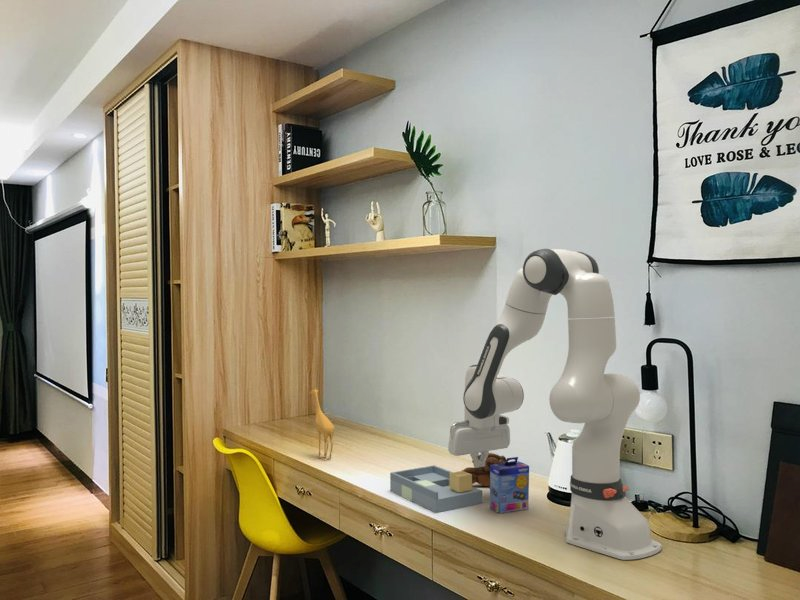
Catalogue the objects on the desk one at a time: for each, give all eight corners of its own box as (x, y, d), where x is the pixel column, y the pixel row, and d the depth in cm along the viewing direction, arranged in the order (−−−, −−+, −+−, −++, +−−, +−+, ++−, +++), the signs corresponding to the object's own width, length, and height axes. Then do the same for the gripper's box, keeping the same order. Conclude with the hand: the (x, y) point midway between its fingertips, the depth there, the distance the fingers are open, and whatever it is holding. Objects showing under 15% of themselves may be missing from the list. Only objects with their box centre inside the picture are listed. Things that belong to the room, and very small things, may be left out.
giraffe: (305, 454, 246) (305, 387, 246) (316, 452, 249) (315, 386, 249) (327, 463, 233) (326, 392, 233) (338, 461, 236) (337, 390, 235)
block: (472, 490, 187) (471, 474, 187) (459, 493, 184) (459, 476, 184) (462, 487, 191) (462, 470, 191) (449, 489, 188) (449, 473, 188)
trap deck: (482, 502, 187) (482, 483, 187) (435, 512, 179) (435, 492, 179) (434, 482, 208) (434, 465, 208) (390, 490, 199) (390, 472, 199)
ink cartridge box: (499, 514, 177) (499, 460, 177) (488, 508, 182) (488, 455, 182) (530, 509, 181) (530, 456, 181) (519, 503, 186) (518, 452, 186)
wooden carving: (464, 489, 200) (464, 456, 200) (460, 485, 205) (460, 453, 205) (516, 487, 203) (516, 454, 203) (512, 482, 207) (511, 451, 207)
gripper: (457, 425, 183) (456, 474, 184) (513, 417, 194) (513, 464, 194) (444, 420, 189) (443, 469, 189) (499, 414, 199) (499, 459, 200)
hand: (479, 466), depth 192 cm, fingers closed
